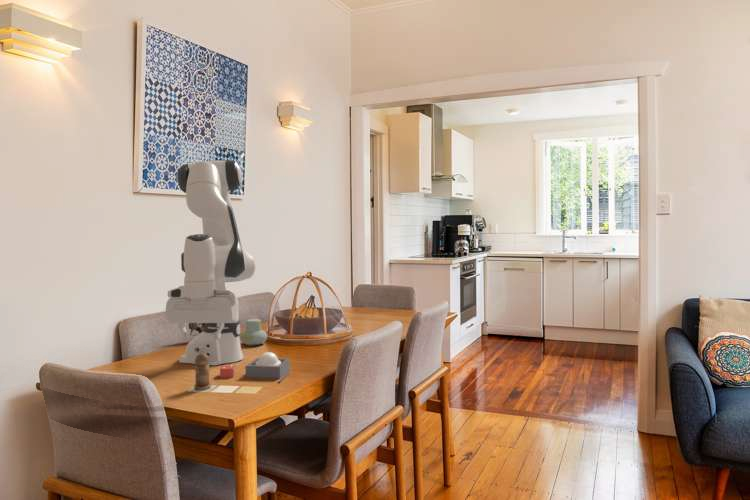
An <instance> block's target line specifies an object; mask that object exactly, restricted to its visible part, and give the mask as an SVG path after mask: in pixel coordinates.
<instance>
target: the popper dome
mask: <svg viewBox="0 0 750 500" xmlns="http://www.w3.org/2000/svg"><path fill="white" fill-rule="evenodd" d="M258 358H259V360H258V361H257V362H256V363H255V365H256V366H279V365H280V364H281V361H279V360H278V358H279V357H278V356H277V355H276V354H275V353H274V352H271V351H268V352H267V351H266V352H263V353H262V354H260V356H258Z"/></svg>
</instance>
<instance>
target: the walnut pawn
mask: <svg viewBox="0 0 750 500" xmlns="http://www.w3.org/2000/svg"><path fill="white" fill-rule="evenodd" d="M195 363H196V364H195V371H194V372H195V384H194V385H193V387H194V389H195V390H198V391H202V390H208V389H210V388H211V385H212V384H211V382H210V365H209V364H208V363H209V357H208V356H207V355H206V354H203V353H202V354H199V355H197V356H196V358H195Z"/></svg>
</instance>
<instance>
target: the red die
mask: <svg viewBox="0 0 750 500" xmlns="http://www.w3.org/2000/svg"><path fill="white" fill-rule="evenodd" d="M235 367H236V366H235V365H232V364H231V365H221V366H220V369H219V376H220V377H219V378H220V379H223V378H225V379H226V378H228V379H229V378H234V377H235V374H236V373H235V372H236V370H235V369H236V368H235Z"/></svg>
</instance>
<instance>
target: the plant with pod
mask: <svg viewBox="0 0 750 500" xmlns="http://www.w3.org/2000/svg"><path fill="white" fill-rule="evenodd" d="M201 324H203V323H188V328H189V330H190V334H189V335H190V336H191V335H192V333H193V331H195V332H198V335H199V334H200V333H201V332H202V331H203V327H202V328H200V327H201V326H202V325H201Z"/></svg>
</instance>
